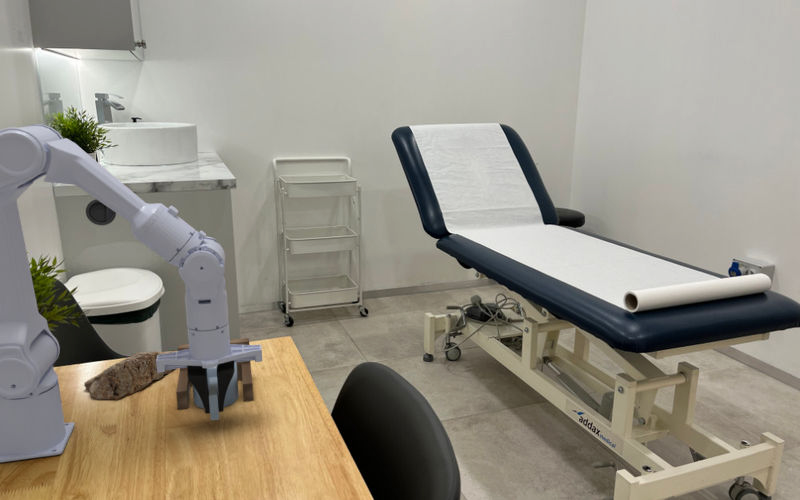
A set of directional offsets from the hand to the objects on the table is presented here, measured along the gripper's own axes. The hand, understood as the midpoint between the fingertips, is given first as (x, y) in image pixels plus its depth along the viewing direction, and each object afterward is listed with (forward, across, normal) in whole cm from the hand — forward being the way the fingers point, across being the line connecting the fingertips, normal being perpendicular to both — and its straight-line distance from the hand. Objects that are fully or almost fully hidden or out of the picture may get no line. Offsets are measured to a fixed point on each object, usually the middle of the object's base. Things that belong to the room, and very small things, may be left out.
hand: (214, 409), depth 89 cm
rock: (+3, -14, +19) cm, 24 cm away
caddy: (+2, 0, +11) cm, 11 cm away
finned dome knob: (+2, 0, +5) cm, 6 cm away
